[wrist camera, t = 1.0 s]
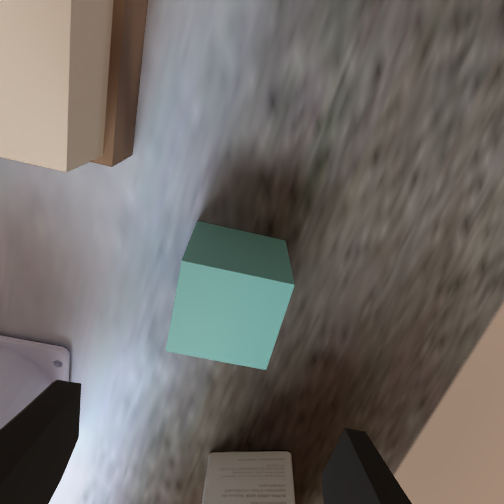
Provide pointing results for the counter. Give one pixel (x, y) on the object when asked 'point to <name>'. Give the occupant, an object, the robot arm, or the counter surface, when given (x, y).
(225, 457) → the skincare box
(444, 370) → the counter surface
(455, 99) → the counter surface
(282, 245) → the teal block
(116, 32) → the walnut base slab
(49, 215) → the counter surface
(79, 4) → the cream middle slab
